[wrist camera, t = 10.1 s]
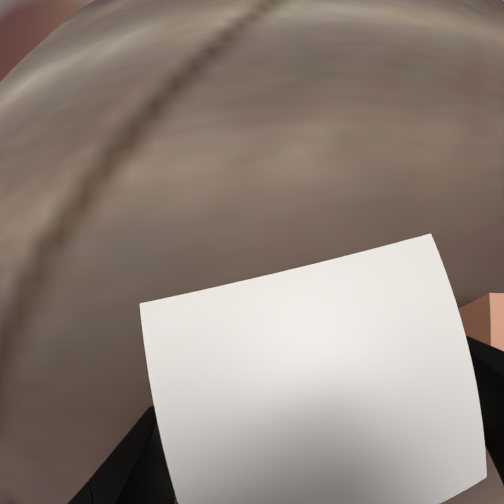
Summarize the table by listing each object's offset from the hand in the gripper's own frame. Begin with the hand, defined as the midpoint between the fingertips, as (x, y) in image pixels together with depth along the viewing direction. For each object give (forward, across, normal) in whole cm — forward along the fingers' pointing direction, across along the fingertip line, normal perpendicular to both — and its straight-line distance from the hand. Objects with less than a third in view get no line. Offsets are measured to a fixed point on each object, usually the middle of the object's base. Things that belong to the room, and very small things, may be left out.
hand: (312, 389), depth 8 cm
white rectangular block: (+5, 0, +6) cm, 8 cm away
